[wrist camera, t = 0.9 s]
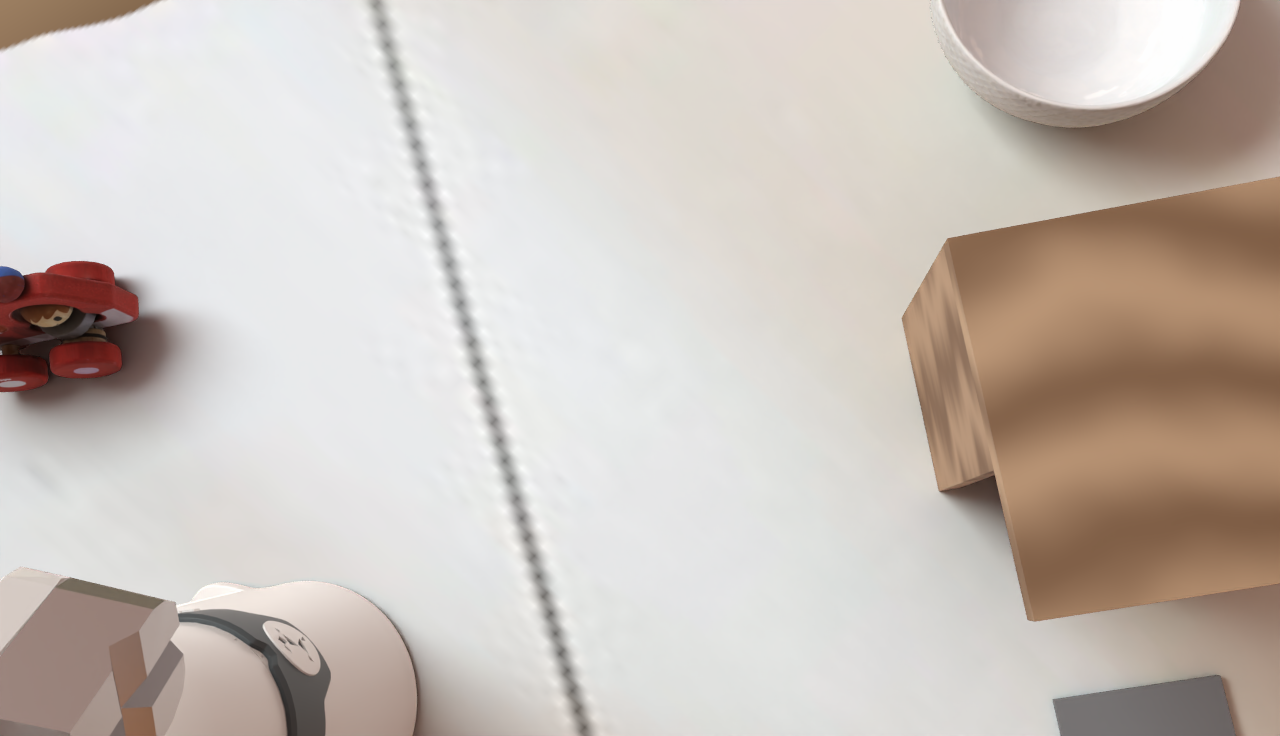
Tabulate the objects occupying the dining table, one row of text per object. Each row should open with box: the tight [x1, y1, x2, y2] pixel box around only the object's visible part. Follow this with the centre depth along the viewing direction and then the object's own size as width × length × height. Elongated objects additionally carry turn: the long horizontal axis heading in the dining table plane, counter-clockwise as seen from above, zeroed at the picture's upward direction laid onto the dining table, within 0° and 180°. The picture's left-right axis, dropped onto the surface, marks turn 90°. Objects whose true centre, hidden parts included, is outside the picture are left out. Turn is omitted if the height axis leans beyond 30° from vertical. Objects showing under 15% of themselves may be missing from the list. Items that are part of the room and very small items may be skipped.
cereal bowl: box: [930, 0, 1241, 128], centre depth 63 cm, size 17×17×7 cm
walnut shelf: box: [902, 177, 1280, 622], centre depth 54 cm, size 17×16×16 cm
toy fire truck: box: [0, 261, 139, 392], centre depth 65 cm, size 7×12×10 cm, turn 100°
